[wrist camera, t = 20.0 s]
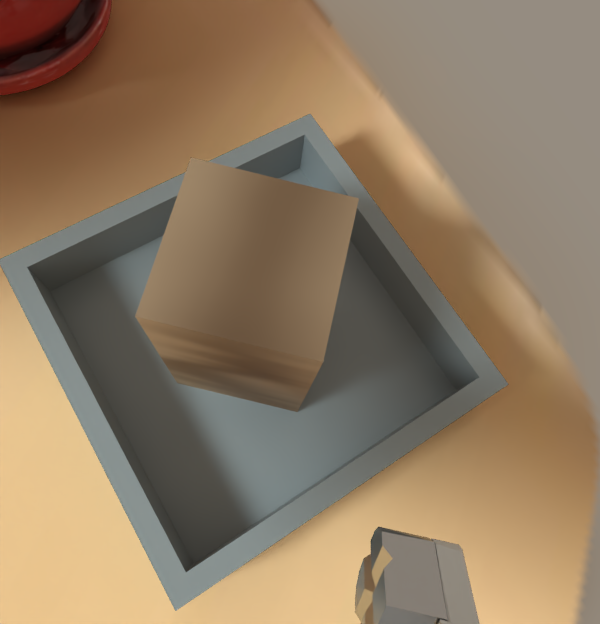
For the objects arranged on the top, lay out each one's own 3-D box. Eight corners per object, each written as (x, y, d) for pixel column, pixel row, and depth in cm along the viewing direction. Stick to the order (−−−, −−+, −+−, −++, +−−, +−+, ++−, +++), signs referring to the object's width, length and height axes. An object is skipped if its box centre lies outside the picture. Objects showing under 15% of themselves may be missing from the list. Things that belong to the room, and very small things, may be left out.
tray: (33, 293, 24) (-3, 260, 21) (303, 160, 27) (310, 113, 24) (187, 593, 21) (175, 610, 17) (473, 400, 24) (508, 384, 21)
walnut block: (177, 383, 22) (135, 316, 14) (211, 272, 24) (190, 157, 16) (297, 412, 22) (323, 361, 14) (322, 300, 24) (359, 198, 16)
